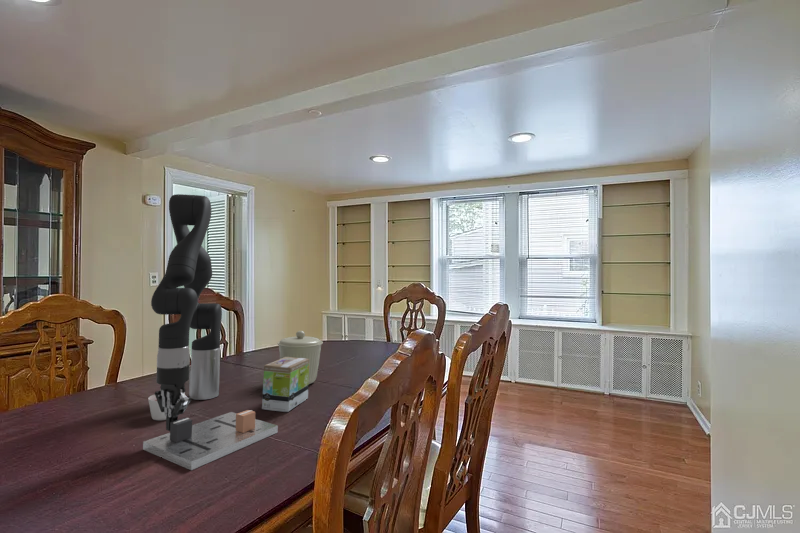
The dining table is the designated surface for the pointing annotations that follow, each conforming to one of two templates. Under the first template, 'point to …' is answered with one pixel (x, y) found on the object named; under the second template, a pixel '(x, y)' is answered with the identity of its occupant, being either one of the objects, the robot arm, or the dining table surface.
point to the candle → (155, 409)
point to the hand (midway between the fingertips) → (171, 429)
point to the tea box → (285, 383)
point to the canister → (302, 351)
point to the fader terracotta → (245, 421)
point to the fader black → (180, 429)
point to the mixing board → (208, 441)
